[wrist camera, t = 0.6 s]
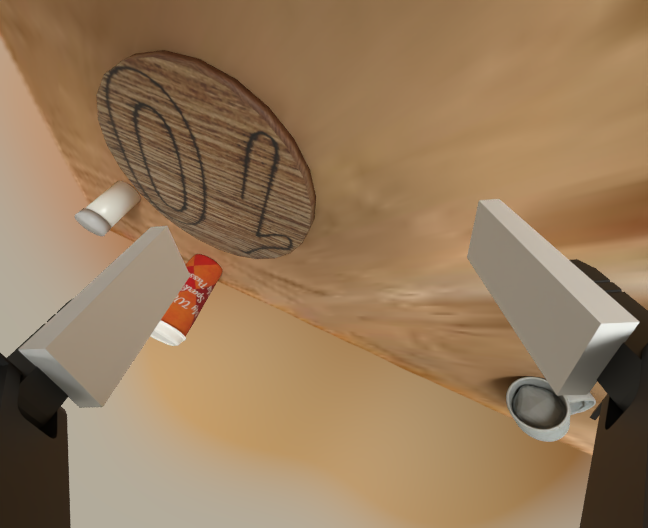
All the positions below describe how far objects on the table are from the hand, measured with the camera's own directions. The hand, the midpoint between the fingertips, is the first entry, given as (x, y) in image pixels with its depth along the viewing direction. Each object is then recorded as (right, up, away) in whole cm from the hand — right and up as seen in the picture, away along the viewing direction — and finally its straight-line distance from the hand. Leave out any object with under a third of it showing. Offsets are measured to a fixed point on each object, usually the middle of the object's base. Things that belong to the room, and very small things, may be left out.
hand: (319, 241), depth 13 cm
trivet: (-12, +9, +22) cm, 27 cm away
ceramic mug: (+35, -20, +34) cm, 53 cm away
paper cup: (-20, -1, +39) cm, 44 cm away
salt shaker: (-28, +9, +30) cm, 42 cm away
